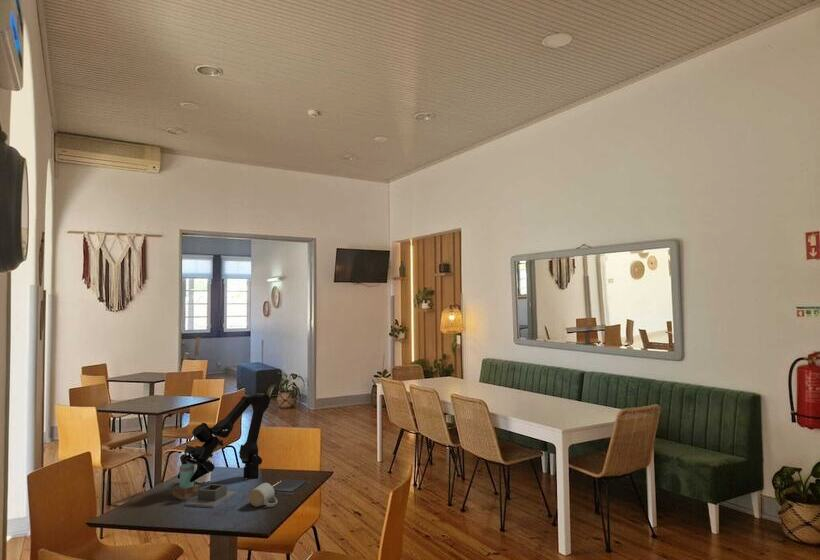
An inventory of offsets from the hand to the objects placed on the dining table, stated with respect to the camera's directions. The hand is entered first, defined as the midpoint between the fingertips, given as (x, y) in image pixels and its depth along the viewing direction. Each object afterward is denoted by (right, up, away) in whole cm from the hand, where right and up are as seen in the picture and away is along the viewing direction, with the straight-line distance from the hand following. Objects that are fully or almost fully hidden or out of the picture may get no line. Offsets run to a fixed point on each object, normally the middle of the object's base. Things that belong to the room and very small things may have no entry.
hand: (184, 479), depth 235 cm
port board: (+14, -6, -5) cm, 16 cm away
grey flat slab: (+41, -8, +11) cm, 44 cm away
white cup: (0, -9, +22) cm, 24 cm away
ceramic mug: (+37, -6, -11) cm, 39 cm away
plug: (+1, -7, 0) cm, 7 cm away
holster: (+1, -7, 0) cm, 7 cm away
